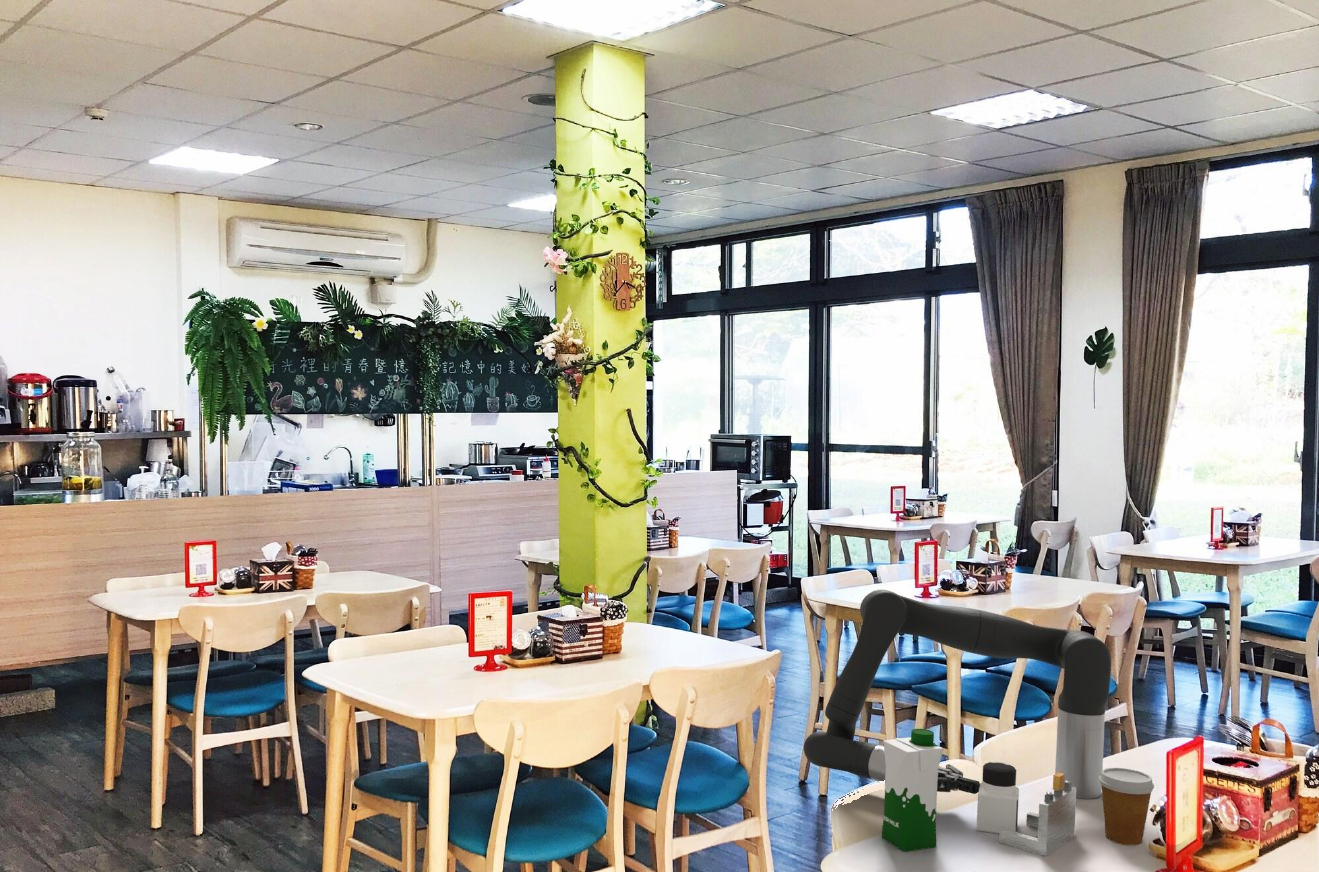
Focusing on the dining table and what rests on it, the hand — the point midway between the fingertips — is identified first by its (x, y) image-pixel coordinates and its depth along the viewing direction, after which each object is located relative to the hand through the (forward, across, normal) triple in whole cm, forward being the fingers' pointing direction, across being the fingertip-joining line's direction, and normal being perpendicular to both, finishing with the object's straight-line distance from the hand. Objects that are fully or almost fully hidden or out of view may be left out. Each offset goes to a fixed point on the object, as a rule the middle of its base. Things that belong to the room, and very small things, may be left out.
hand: (978, 788), depth 215 cm
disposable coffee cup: (+23, +12, +7) cm, 27 cm away
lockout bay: (+12, 0, +7) cm, 13 cm away
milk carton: (-4, -19, +7) cm, 21 cm away
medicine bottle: (+4, 0, +7) cm, 8 cm away
